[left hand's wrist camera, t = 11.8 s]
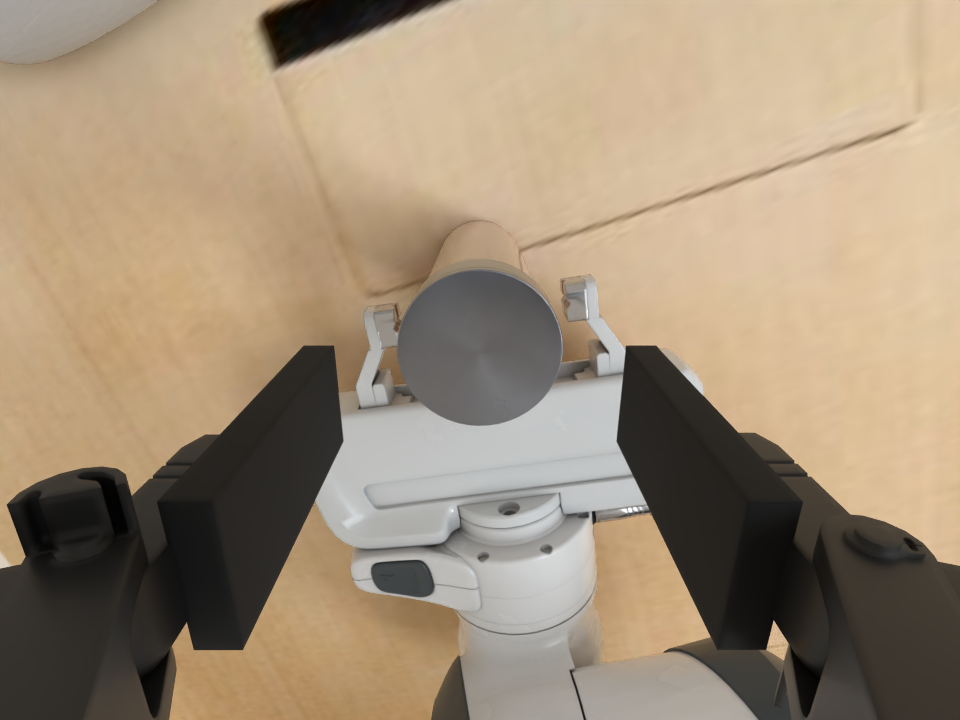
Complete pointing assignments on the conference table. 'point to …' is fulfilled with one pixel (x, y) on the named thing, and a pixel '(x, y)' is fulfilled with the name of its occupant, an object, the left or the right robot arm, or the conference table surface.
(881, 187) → the conference table surface
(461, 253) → the jar
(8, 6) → the projector
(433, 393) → the lid
